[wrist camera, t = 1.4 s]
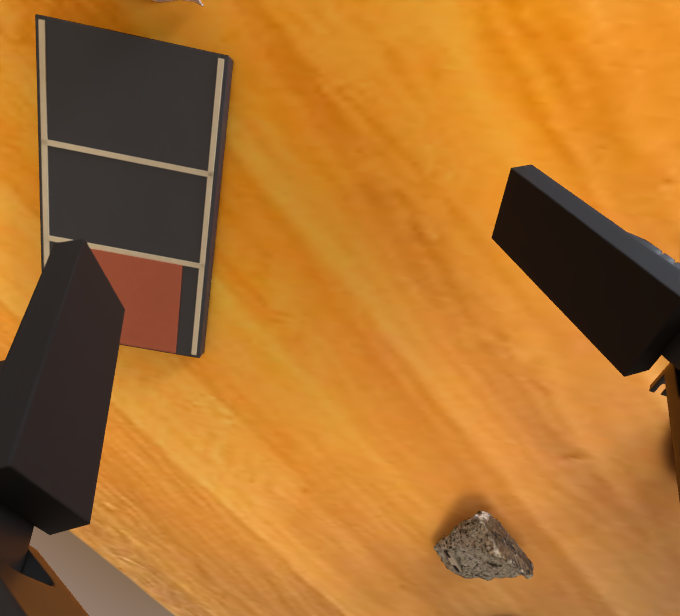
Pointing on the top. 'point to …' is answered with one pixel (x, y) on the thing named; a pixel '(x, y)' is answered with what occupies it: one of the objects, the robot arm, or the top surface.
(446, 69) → the top surface
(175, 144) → the grid board
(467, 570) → the rock sample
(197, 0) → the paper towel roll
